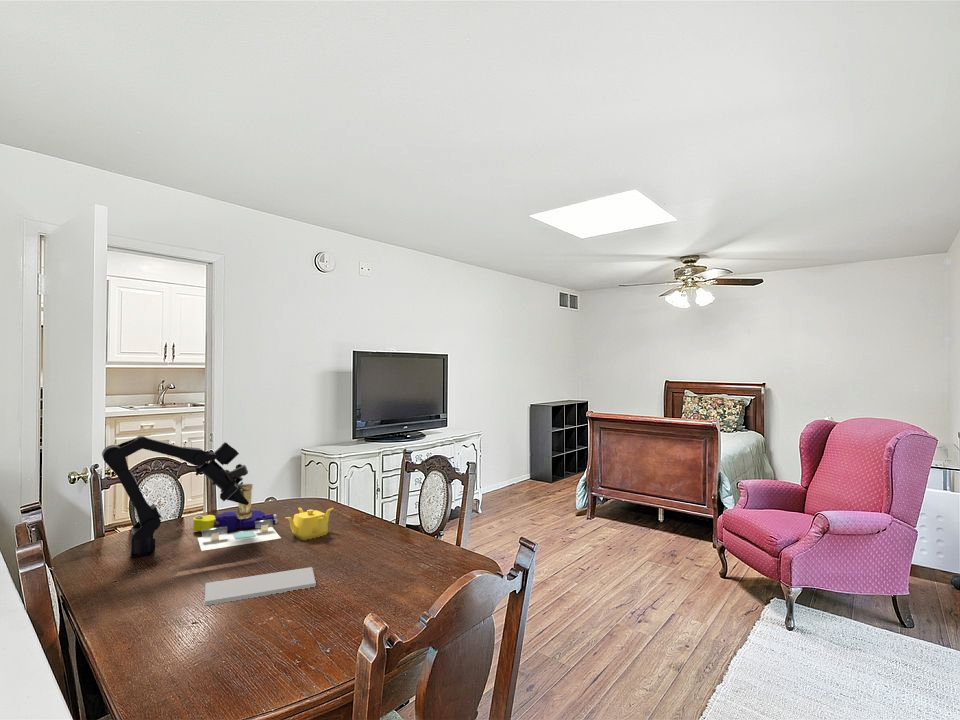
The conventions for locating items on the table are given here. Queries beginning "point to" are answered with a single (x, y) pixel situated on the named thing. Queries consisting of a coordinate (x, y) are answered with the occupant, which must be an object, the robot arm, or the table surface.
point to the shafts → (216, 532)
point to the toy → (230, 521)
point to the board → (237, 538)
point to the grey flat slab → (258, 585)
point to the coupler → (246, 490)
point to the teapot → (309, 524)
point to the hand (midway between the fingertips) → (248, 502)
